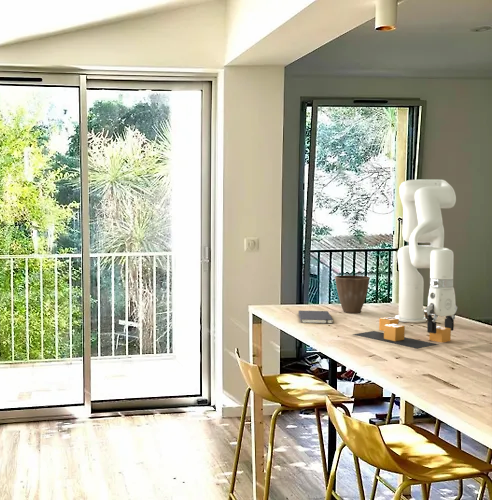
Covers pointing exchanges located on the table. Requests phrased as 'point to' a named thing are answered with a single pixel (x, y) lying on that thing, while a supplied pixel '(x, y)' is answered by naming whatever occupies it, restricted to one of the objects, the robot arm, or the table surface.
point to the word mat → (406, 342)
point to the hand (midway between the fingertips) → (440, 331)
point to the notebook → (315, 317)
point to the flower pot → (352, 292)
